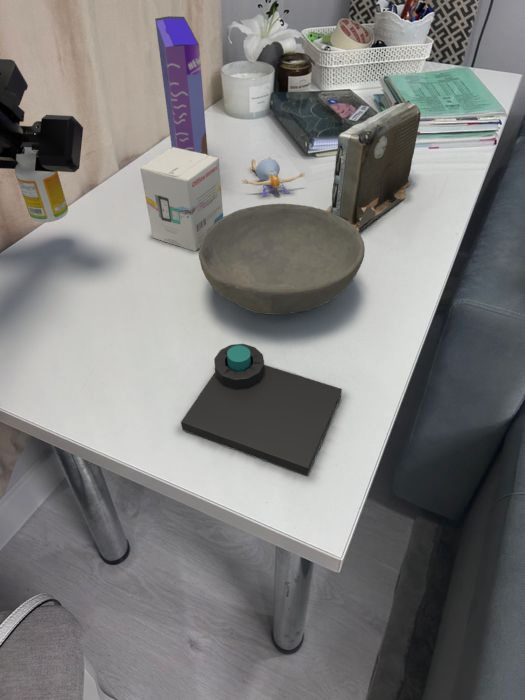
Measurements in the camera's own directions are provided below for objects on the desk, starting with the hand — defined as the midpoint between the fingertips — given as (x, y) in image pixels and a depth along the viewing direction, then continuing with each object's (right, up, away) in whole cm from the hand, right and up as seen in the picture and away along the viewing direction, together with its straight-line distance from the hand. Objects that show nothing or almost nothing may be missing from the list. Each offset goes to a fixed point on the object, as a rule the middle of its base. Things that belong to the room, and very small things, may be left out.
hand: (40, 166), depth 71 cm
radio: (+49, 0, +18) cm, 52 cm away
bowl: (+33, -18, 0) cm, 38 cm away
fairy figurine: (+32, +5, +23) cm, 40 cm away
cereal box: (+18, +6, +24) cm, 31 cm away
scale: (+31, -32, -16) cm, 48 cm away
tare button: (+28, -27, -14) cm, 42 cm away
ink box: (+19, -7, +11) cm, 23 cm away
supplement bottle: (0, -6, +4) cm, 7 cm away
